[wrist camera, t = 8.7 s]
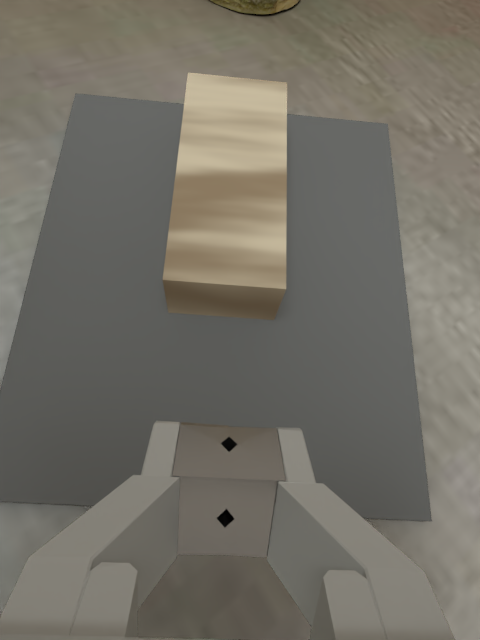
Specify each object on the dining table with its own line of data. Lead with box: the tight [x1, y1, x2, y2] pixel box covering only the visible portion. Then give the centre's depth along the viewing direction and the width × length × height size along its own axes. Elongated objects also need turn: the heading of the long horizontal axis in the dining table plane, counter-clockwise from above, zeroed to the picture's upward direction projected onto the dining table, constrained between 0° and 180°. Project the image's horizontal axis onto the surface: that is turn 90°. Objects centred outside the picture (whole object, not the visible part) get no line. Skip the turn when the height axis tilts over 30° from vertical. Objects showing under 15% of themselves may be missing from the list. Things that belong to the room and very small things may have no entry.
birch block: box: [163, 73, 287, 320], centre depth 26 cm, size 4×6×14 cm
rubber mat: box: [0, 94, 432, 521], centre depth 27 cm, size 26×22×1 cm
